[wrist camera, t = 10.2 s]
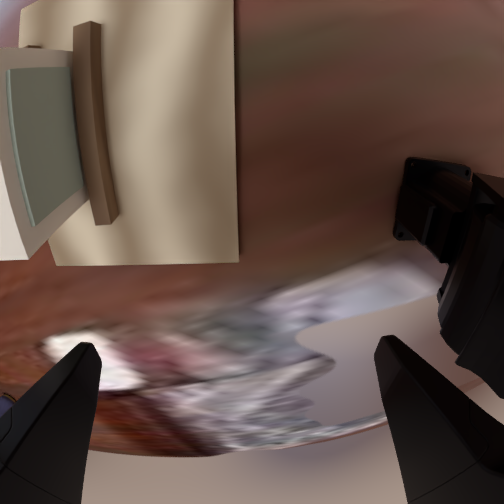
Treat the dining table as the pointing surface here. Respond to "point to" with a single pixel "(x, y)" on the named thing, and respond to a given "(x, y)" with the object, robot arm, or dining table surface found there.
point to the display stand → (148, 128)
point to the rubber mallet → (5, 403)
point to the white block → (37, 148)
